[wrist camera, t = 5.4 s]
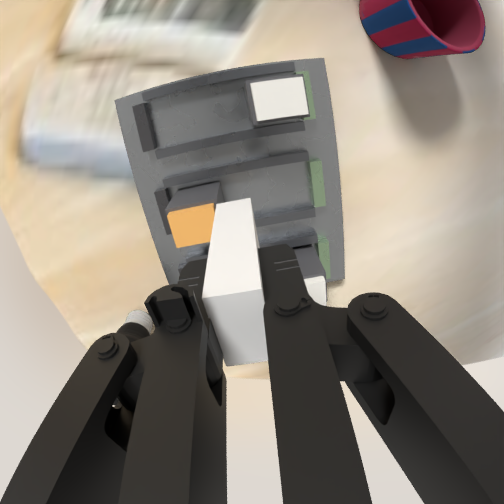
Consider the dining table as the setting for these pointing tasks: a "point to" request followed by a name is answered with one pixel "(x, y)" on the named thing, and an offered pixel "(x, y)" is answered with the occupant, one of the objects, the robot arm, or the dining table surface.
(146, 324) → the light bulb
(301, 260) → the breaker
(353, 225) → the dining table surface
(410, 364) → the robot arm
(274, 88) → the breaker
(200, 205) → the block
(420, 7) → the mug
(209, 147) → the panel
